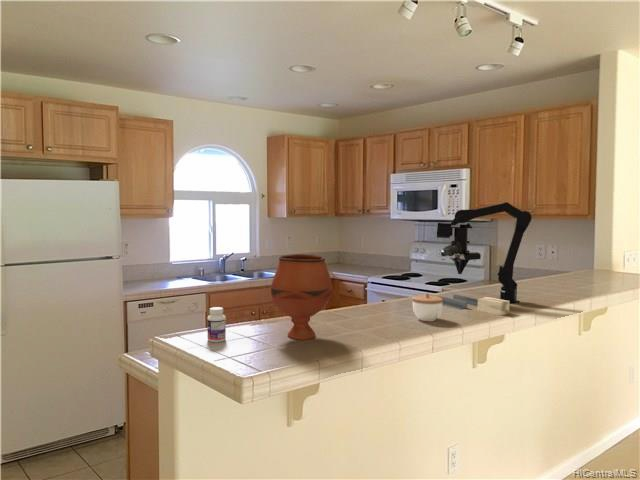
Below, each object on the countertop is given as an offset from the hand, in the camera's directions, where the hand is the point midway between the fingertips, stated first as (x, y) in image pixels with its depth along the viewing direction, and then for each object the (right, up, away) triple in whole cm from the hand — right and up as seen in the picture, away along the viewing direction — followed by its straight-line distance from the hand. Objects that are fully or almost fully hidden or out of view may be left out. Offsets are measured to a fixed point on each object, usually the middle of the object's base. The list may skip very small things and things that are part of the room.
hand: (459, 274), depth 224 cm
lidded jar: (-23, -14, -40) cm, 48 cm away
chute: (-3, -12, -11) cm, 16 cm away
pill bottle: (-92, -15, -70) cm, 117 cm away
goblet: (-67, -15, -65) cm, 94 cm away
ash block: (+6, -13, -26) cm, 30 cm away
